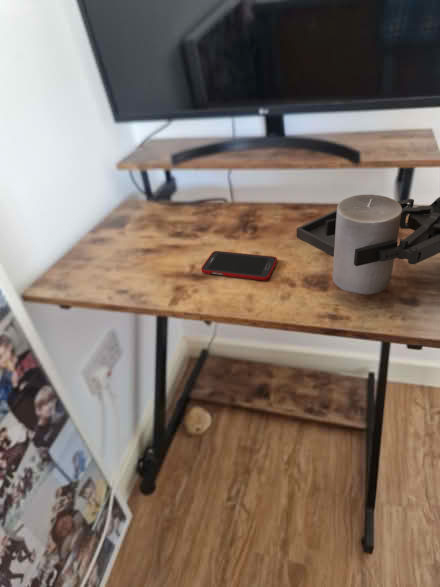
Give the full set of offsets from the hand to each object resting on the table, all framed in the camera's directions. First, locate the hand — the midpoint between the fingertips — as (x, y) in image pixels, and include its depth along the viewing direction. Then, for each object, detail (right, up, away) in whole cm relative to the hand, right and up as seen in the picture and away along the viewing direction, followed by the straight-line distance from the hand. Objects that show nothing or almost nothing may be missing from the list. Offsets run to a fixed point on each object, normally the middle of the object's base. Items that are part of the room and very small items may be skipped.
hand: (340, 242), depth 65 cm
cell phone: (-15, -3, +19) cm, 25 cm away
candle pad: (+8, +4, +24) cm, 26 cm away
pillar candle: (+5, -6, +6) cm, 10 cm away
